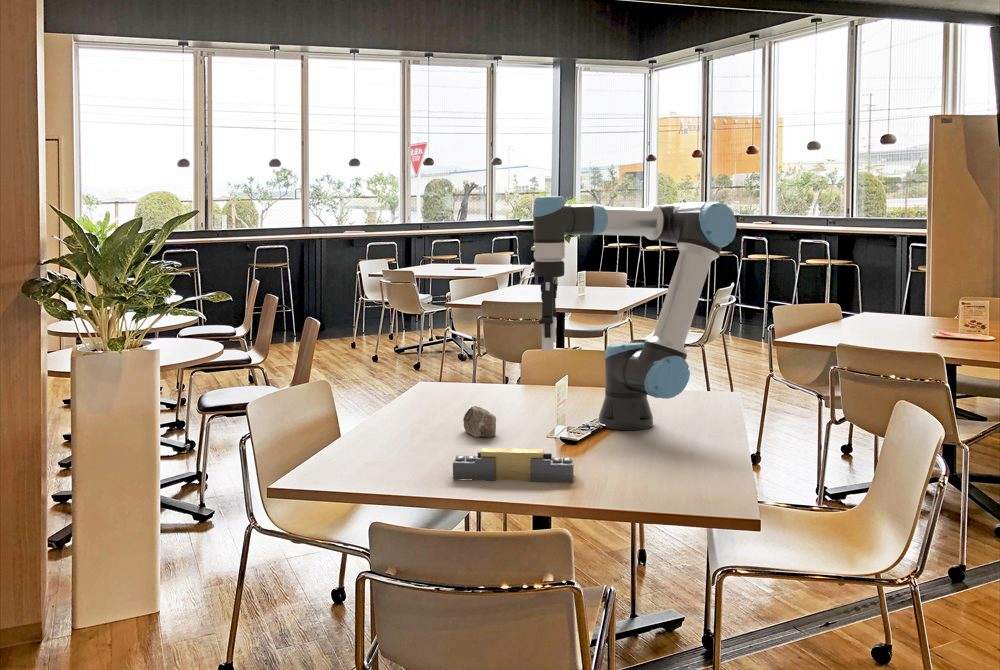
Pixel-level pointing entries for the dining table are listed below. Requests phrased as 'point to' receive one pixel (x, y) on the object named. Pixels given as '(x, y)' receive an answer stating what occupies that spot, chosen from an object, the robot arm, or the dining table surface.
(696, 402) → the dining table surface
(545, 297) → the robot arm
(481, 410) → the stone
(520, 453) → the yellow wood block
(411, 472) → the dining table surface
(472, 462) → the grey block pair
